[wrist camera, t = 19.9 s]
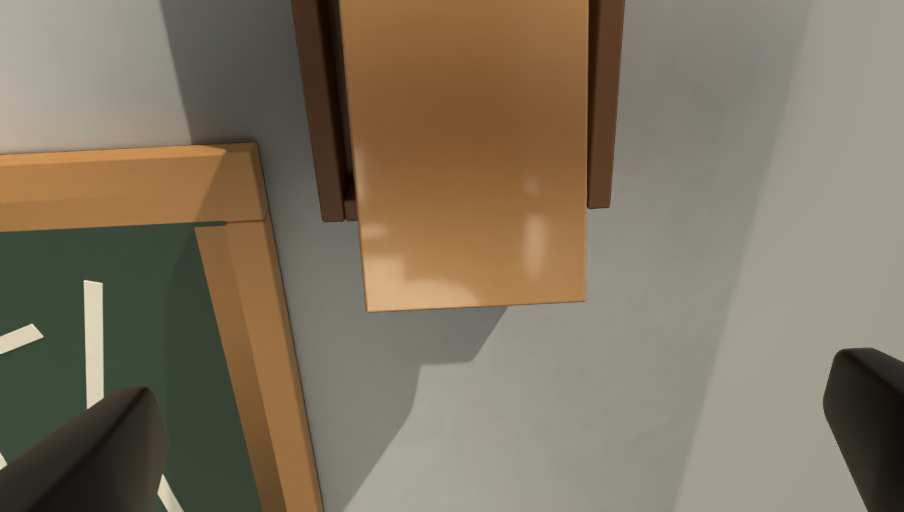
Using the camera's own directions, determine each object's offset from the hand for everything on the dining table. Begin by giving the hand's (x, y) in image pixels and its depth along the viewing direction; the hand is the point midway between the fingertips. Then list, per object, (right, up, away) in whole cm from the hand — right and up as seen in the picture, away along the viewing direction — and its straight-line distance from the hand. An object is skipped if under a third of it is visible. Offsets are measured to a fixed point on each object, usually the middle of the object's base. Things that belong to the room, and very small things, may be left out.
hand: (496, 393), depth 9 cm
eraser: (0, +6, +8) cm, 10 cm away
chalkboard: (-13, -4, +14) cm, 20 cm away
